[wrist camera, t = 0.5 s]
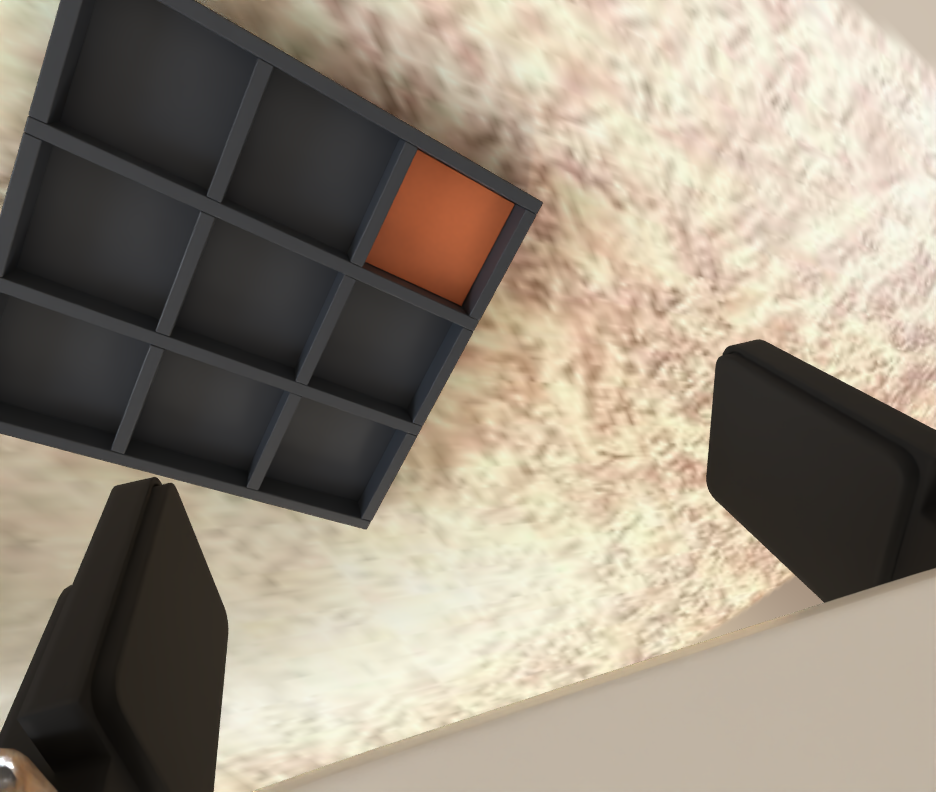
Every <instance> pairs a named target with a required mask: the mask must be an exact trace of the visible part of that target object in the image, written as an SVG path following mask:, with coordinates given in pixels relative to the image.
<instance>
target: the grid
mask: <svg viewBox="0 0 936 792" xmlns="http://www.w3.org/2000/svg"><path fill="white" fill-rule="evenodd" d="M542 204H543V202H542V201H540V200H538V199H536V198H535V197H533V196H531V195H530V194H528V193H526V192H524V191H523V190H521V189H519V188H517V187H516V186H514V185H512V184H511V183H509V182H507V181H505V180H504V179H502V178H500V177H498V176H497V175H495V174H493V173H492V172H490V171H488V170H486V169H485V168H483V167H481V166H480V165H478V164H476V163H474V162H473V161H471V160H469V159H467V158H466V157H464V156H462V155H461V154H459V153H457V152H455V151H454V150H452V149H450V148H448V147H447V146H445V145H443V144H442V143H440V142H438V141H436V140H435V139H433V138H431V137H429V136H428V135H426V134H424V133H423V132H421V131H419V130H417V129H416V128H414V127H412V126H410V125H409V124H407V123H405V122H404V121H402V120H400V119H398V118H397V117H395V116H393V115H392V114H390V113H388V112H386V111H385V110H383V109H381V108H379V107H378V106H376V105H374V104H373V103H371V102H369V101H367V100H366V99H364V98H362V97H360V96H359V95H357V94H355V93H354V92H352V91H350V90H348V89H347V88H345V87H343V86H341V85H340V84H338V83H336V82H335V81H333V80H331V79H329V78H328V77H326V76H324V75H322V74H321V73H319V72H317V71H316V70H314V69H312V68H310V67H309V66H307V65H305V64H304V63H302V62H300V61H298V60H297V59H295V58H293V57H291V56H290V55H288V54H286V53H285V52H283V51H281V50H279V49H278V48H276V47H274V46H272V45H271V44H269V43H267V42H266V41H264V40H262V39H260V38H259V37H257V36H255V35H253V34H252V33H250V32H248V31H247V30H245V29H243V28H241V27H240V26H238V25H236V24H235V23H233V22H231V21H229V20H228V19H226V18H224V17H222V16H221V15H219V14H217V13H216V12H214V11H212V10H210V9H209V8H207V7H205V6H203V5H202V4H200V3H198V2H197V1H195V0H61V1H60V4H59V8H58V11H57V15H56V18H55V22H54V25H53V29H52V33H51V36H50V40H49V43H48V47H47V50H46V54H45V57H44V61H43V65H42V68H41V72H40V75H39V79H38V82H37V86H36V89H35V93H34V97H33V100H32V104H31V107H30V111H29V116H28V118H27V122H26V125H25V129H24V133H23V136H22V139H21V143H20V147H19V150H18V154H17V157H16V161H15V164H14V168H13V171H12V175H11V179H10V182H9V186H8V189H7V193H6V196H5V200H4V203H3V207H2V211H1V214H0V433H1V434H4V435H8V436H12V437H16V438H20V439H23V440H27V441H31V442H35V443H39V444H42V445H46V446H50V447H54V448H58V449H62V450H65V451H69V452H73V453H77V454H81V455H84V456H88V457H92V458H96V459H100V460H103V461H107V462H111V463H115V464H119V465H122V466H126V467H130V468H134V469H138V470H141V471H145V472H149V473H153V474H157V475H160V476H164V477H168V478H172V479H176V480H179V481H183V482H187V483H191V484H195V485H198V486H202V487H206V488H210V489H214V490H217V491H221V492H225V493H229V494H233V495H236V496H240V497H244V498H248V499H252V500H256V501H259V502H263V503H267V504H271V505H275V506H278V507H282V508H286V509H290V510H294V511H297V512H301V513H305V514H309V515H313V516H316V517H320V518H324V519H328V520H332V521H335V522H339V523H343V524H347V525H351V526H354V527H358V528H362V529H367V528H368V526H369V524H370V522H371V521H372V519H373V517H374V515H375V513H376V512H377V510H378V508H379V506H380V504H381V502H382V500H383V499H384V497H385V495H386V493H387V491H388V489H389V488H390V486H391V484H392V482H393V480H394V478H395V476H396V475H397V473H398V471H399V469H400V467H401V465H402V463H403V462H404V460H405V458H406V456H407V454H408V452H409V450H410V449H411V447H412V445H413V443H414V441H415V439H416V438H417V435H418V434H419V432H420V430H421V428H422V426H423V424H424V422H425V421H426V419H427V417H428V415H429V413H430V411H431V409H432V408H433V406H434V404H435V402H436V400H437V398H438V396H439V395H440V393H441V391H442V389H443V387H444V385H445V384H446V382H447V380H448V378H449V376H450V374H451V372H452V371H453V369H454V367H455V365H456V363H457V361H458V359H459V358H460V356H461V354H462V352H463V350H464V348H465V346H466V345H467V343H468V341H469V339H470V337H471V335H472V333H473V331H474V330H475V328H476V326H477V324H478V322H479V320H480V319H481V317H482V315H483V313H484V311H485V310H486V308H487V306H488V304H489V302H490V300H491V298H492V297H493V295H494V293H495V291H496V289H497V287H498V285H499V284H500V282H501V280H502V278H503V276H504V274H505V273H506V271H507V269H508V267H509V265H510V263H511V261H512V260H513V258H514V256H515V254H516V252H517V250H518V248H519V247H520V245H521V243H522V241H523V239H524V237H525V235H526V234H527V232H528V230H529V228H530V226H531V224H532V223H533V221H534V219H535V217H536V214H537V213H538V211H539V209H540V208H541V206H542Z"/></svg>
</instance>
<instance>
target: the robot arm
mask: <svg viewBox="0 0 936 792" xmlns="http://www.w3.org/2000/svg"><path fill="white" fill-rule="evenodd" d="M706 482H707V487H708V489H709V492H710V493H711V495H712V496H713V498H714V499H715V500H716V501H717V502H718V503H719V504H720V505H722V506H723V507H724V508H725V509H726V510H727V511H728V512H729V513H730V514H731V515H732V516H733V517H734V518H735V519H736V520H737V521H738V522H740V523H741V524H742V525H743V526H744V527H745V528H746V529H747V530H748V531H749V532H750V533H751V534H752V535H753V536H754V537H755V538H756V539H758V540H759V541H760V542H761V543H762V544H763V545H764V546H765V547H766V548H767V549H768V550H769V551H770V552H771V553H772V554H773V555H774V556H776V557H777V558H778V559H779V560H780V561H781V562H782V563H783V564H784V565H785V566H786V567H787V568H788V569H789V570H790V571H791V572H792V573H794V574H795V575H796V576H797V577H798V578H799V579H800V580H801V581H802V582H803V583H804V584H805V585H806V586H807V587H808V588H809V589H811V590H812V591H813V592H814V593H815V594H816V595H817V596H818V597H819V598H820V599H821V600H822V601H823V602H824V603H822V604H819V605H817V606H813V607H810V608H807V609H803V610H801V611H797V612H794V613H791V614H788V615H784V616H781V617H778V618H775V619H772V620H769V621H765V622H762V623H759V624H756V625H753V626H750V627H747V628H744V629H741V630H737V631H734V632H731V633H728V634H725V635H722V636H719V637H716V638H713V639H710V640H706V641H704V642H700V643H697V644H694V645H691V646H688V647H685V648H681V649H678V650H675V651H672V652H669V653H666V654H663V655H660V656H657V657H654V658H651V659H647V660H644V661H641V662H638V663H635V664H632V665H629V666H626V667H623V668H620V669H617V670H613V671H610V672H607V673H604V674H601V675H598V676H595V677H592V678H589V679H586V680H583V681H580V682H576V683H573V684H570V685H567V686H564V687H561V688H558V689H555V690H552V691H549V692H546V693H543V694H540V695H537V696H534V697H531V698H528V699H525V700H522V701H519V702H515V703H512V704H509V705H506V706H503V707H500V708H497V709H494V710H491V711H488V712H485V713H482V714H479V715H476V716H473V717H470V718H467V719H464V720H461V721H458V722H455V723H452V724H449V725H446V726H443V727H440V728H437V729H433V730H430V731H427V732H424V733H421V734H418V735H415V736H412V737H409V738H406V739H403V740H400V741H397V742H394V743H391V744H388V745H385V746H382V747H379V748H376V749H373V750H370V751H367V752H364V753H361V754H358V755H355V756H352V757H350V758H347V759H344V760H341V761H338V762H335V763H332V764H329V765H326V766H324V767H321V768H318V769H315V770H312V771H309V772H306V773H303V774H301V775H298V776H295V777H292V778H289V779H286V780H283V781H280V782H278V783H275V784H272V785H269V786H266V787H263V788H260V789H257V790H254V791H252V792H936V430H934V429H933V428H931V427H929V426H927V425H925V424H923V423H921V422H919V421H917V420H915V419H913V418H911V417H910V416H908V415H906V414H904V413H902V412H900V411H898V410H896V409H894V408H892V407H890V406H888V405H887V404H885V403H883V402H881V401H879V400H877V399H875V398H873V397H871V396H869V395H867V394H865V393H864V392H862V391H860V390H858V389H856V388H854V387H852V386H850V385H848V384H846V383H844V382H842V381H841V380H839V379H837V378H835V377H833V376H831V375H829V374H827V373H825V372H823V371H821V370H819V369H817V368H816V367H814V366H812V365H810V364H808V363H806V362H804V361H802V360H800V359H798V358H796V357H794V356H793V355H791V354H789V353H787V352H785V351H783V350H781V349H779V348H777V347H775V346H773V345H771V344H770V343H768V342H766V341H763V340H760V339H759V340H753V341H749V342H745V343H740V344H736V345H731V346H728V347H727V348H726V349H725V351H724V352H723V355H722V356H720V357H719V358H718V360H717V362H716V368H715V380H714V392H713V404H712V416H711V428H710V440H709V452H708V463H707V475H706ZM227 642H228V620H227V615H226V611H225V608H224V605H223V603H222V600H221V598H220V595H219V593H218V590H217V588H216V585H215V583H214V580H213V578H212V575H211V573H210V570H209V568H208V565H207V563H206V560H205V558H204V555H203V553H202V551H201V548H200V546H199V543H198V541H197V538H196V536H195V533H194V531H193V528H192V526H191V523H190V521H189V518H188V516H187V513H186V511H185V508H184V506H183V503H182V501H181V498H180V496H179V493H178V491H177V489H176V487H175V486H174V484H172V483H168V484H163V485H162V483H161V482H160V481H159V479H158V478H156V477H152V478H148V479H143V480H139V481H135V482H130V483H126V484H121V485H117V486H114V488H113V489H112V491H111V493H110V496H109V498H108V501H107V503H106V505H105V508H104V510H103V513H102V515H101V517H100V520H99V522H98V525H97V527H96V529H95V532H94V534H93V537H92V539H91V541H90V544H89V546H88V549H87V551H86V553H85V556H84V558H83V561H82V563H81V565H80V568H79V570H78V573H77V575H76V577H75V580H74V582H73V585H70V586H69V587H67V588H66V589H64V590H63V592H62V593H61V595H60V597H59V598H58V601H57V603H56V605H55V608H54V610H53V612H52V615H51V617H50V619H49V622H48V624H47V626H46V628H45V631H44V633H43V635H42V638H41V640H40V642H39V645H38V647H37V649H36V652H35V654H34V656H33V659H32V661H31V663H30V665H29V668H28V670H27V672H26V675H25V677H24V679H23V682H22V684H21V686H20V689H19V691H18V693H17V695H16V698H15V700H14V702H13V705H12V707H11V709H10V712H9V714H8V716H7V719H6V721H5V723H4V726H3V728H2V730H1V732H0V792H213V791H214V781H215V770H216V759H217V749H218V738H219V727H220V717H221V706H222V695H223V685H224V674H225V663H226V653H227Z"/></svg>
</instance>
